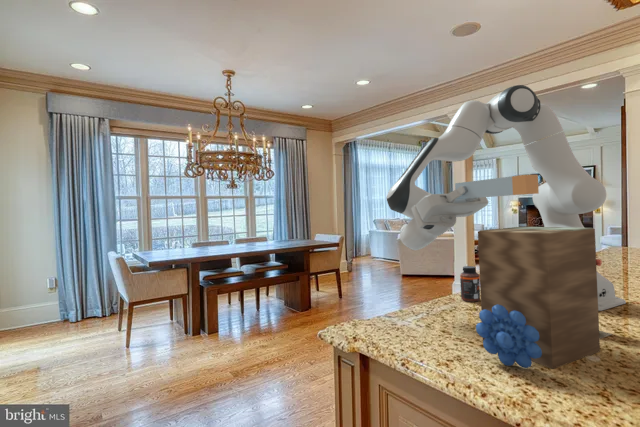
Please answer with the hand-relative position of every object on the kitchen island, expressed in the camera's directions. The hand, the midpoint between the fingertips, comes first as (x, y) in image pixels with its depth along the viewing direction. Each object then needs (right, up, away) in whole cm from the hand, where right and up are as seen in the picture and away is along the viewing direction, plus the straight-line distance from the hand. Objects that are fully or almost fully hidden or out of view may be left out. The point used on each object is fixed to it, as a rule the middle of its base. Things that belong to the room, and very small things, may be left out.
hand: (472, 188), depth 88 cm
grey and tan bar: (+2, -2, -5) cm, 6 cm away
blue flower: (-1, -37, -18) cm, 41 cm away
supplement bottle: (+13, -36, +32) cm, 50 cm away
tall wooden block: (+11, -36, -9) cm, 39 cm away
